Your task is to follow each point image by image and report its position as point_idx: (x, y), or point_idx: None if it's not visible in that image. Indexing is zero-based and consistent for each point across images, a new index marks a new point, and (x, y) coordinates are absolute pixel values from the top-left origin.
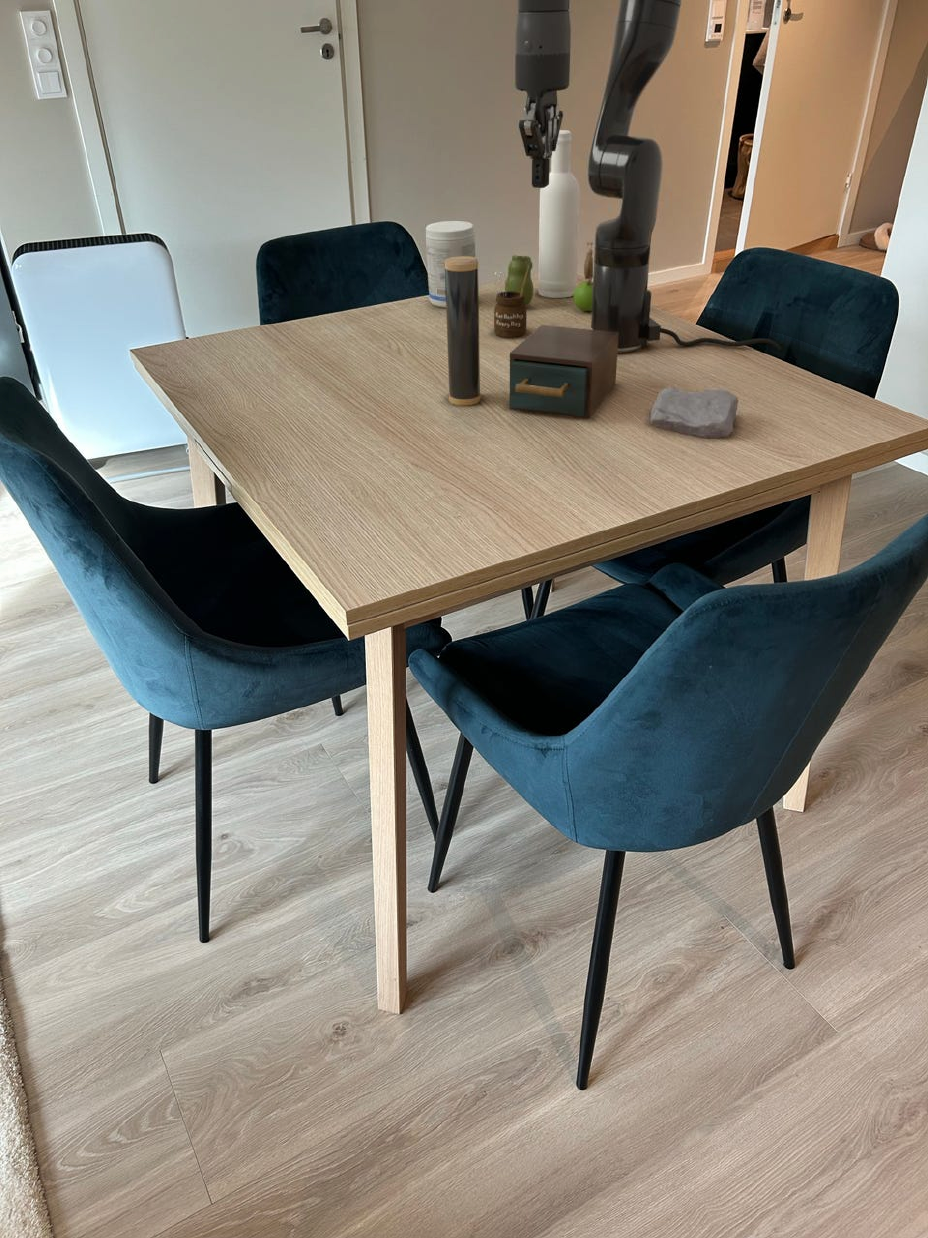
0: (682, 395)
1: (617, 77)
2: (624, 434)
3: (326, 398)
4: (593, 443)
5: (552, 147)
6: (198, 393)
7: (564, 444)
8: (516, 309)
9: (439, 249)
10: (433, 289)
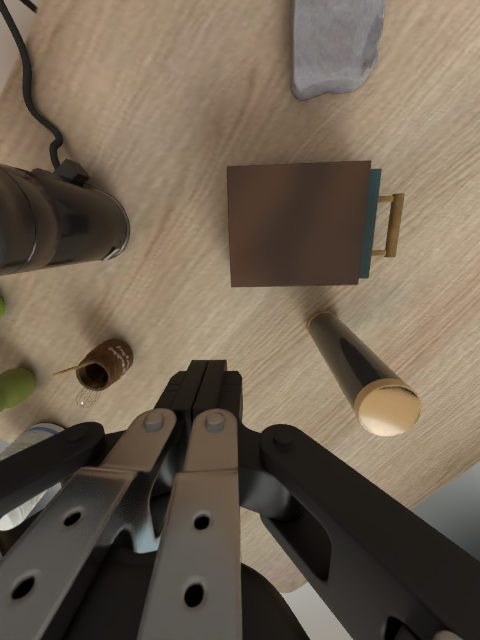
0: (320, 41)
1: None
2: (379, 120)
3: (351, 437)
4: (412, 149)
5: (103, 440)
6: None
7: (420, 181)
8: (111, 357)
9: (31, 499)
10: None
